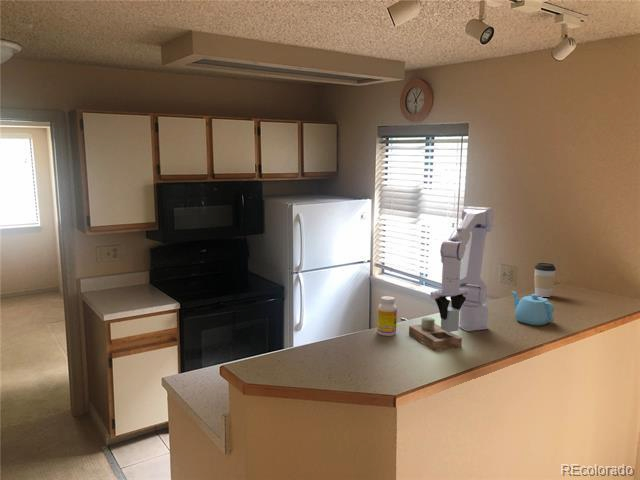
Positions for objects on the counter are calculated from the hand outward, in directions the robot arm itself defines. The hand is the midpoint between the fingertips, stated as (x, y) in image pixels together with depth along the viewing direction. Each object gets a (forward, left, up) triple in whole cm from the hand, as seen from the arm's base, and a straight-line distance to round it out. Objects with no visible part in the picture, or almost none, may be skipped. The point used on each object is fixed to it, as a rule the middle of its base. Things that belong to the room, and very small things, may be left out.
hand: (449, 317), depth 167 cm
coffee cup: (-78, -39, -9) cm, 88 cm away
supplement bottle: (+14, -16, -9) cm, 23 cm away
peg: (0, 0, -4) cm, 4 cm away
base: (+2, -5, -9) cm, 10 cm away
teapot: (-45, -11, -9) cm, 47 cm away
